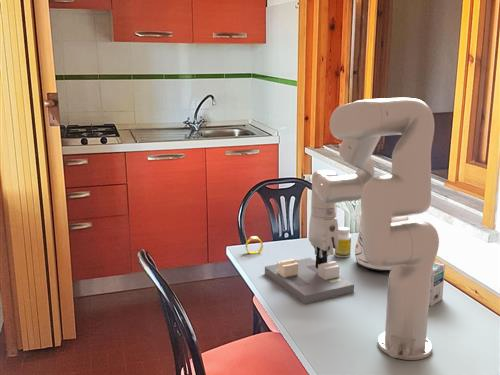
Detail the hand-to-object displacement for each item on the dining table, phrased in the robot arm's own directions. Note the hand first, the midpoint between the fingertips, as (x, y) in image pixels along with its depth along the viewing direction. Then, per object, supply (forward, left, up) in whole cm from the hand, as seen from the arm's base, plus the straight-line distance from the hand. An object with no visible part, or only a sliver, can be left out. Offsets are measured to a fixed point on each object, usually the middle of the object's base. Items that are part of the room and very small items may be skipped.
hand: (321, 267), depth 173 cm
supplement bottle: (+23, -1, -4) cm, 23 cm away
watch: (+13, +28, -4) cm, 31 cm away
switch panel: (-4, +3, -4) cm, 6 cm away
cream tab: (-6, +9, -1) cm, 11 cm away
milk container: (+19, -15, -4) cm, 25 cm away
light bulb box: (-1, -30, -4) cm, 30 cm away
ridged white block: (-3, -3, -1) cm, 4 cm away
